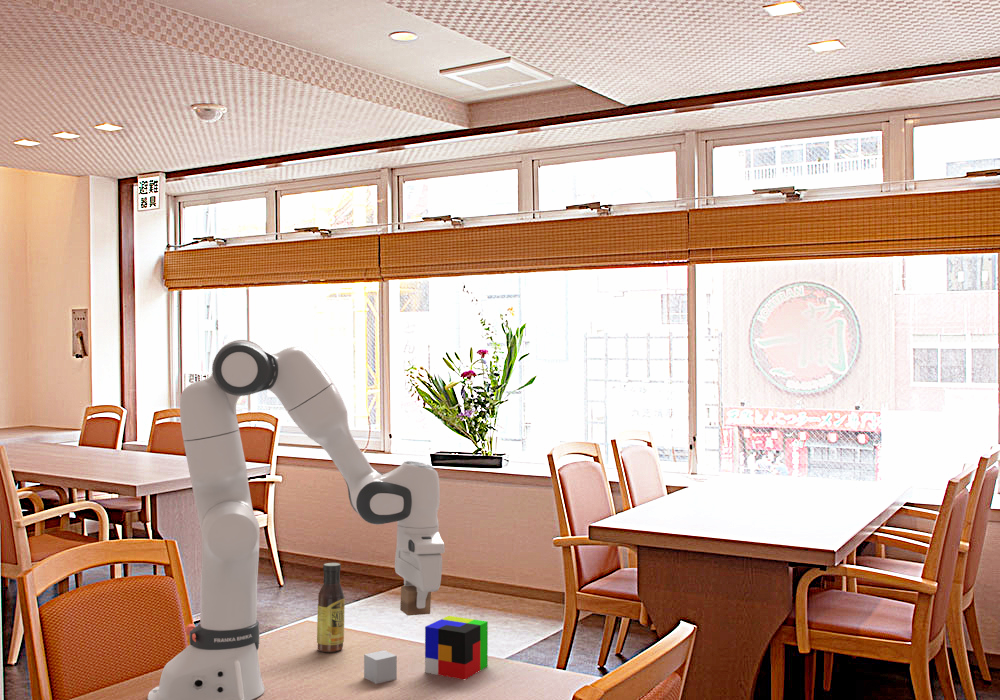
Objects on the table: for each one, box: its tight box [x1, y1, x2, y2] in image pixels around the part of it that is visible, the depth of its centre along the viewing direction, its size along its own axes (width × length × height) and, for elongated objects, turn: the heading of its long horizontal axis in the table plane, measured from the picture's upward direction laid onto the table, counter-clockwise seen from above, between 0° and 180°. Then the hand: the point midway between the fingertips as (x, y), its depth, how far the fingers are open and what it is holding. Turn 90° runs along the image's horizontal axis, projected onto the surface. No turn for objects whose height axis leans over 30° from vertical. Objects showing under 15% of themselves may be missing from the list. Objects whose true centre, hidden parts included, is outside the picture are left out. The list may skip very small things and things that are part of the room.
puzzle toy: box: [424, 615, 489, 680], centre depth 208 cm, size 10×10×10 cm
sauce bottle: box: [316, 562, 346, 653], centre depth 222 cm, size 6×6×20 cm
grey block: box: [363, 649, 398, 685], centre depth 202 cm, size 5×5×5 cm
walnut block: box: [399, 585, 432, 617], centre depth 201 cm, size 5×5×5 cm
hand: (415, 603), depth 201 cm, fingers closed on walnut block, 5 cm apart
